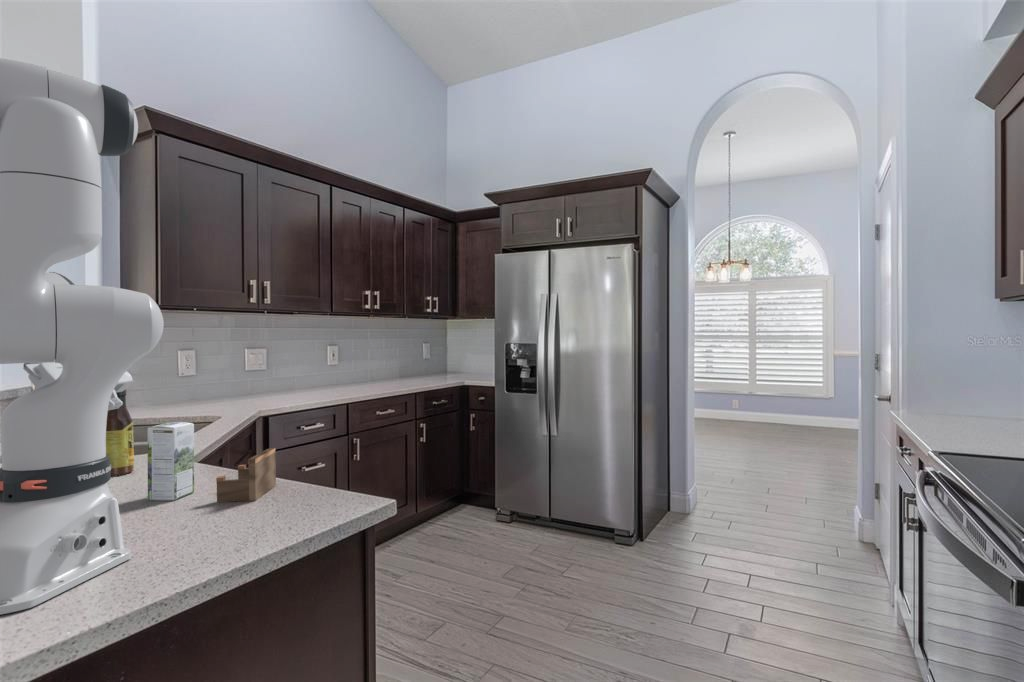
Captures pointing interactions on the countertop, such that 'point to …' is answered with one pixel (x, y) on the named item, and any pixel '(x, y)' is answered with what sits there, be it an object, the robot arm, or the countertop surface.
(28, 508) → the robot arm
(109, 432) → the sauce bottle
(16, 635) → the countertop surface
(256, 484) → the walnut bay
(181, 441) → the syrup box
